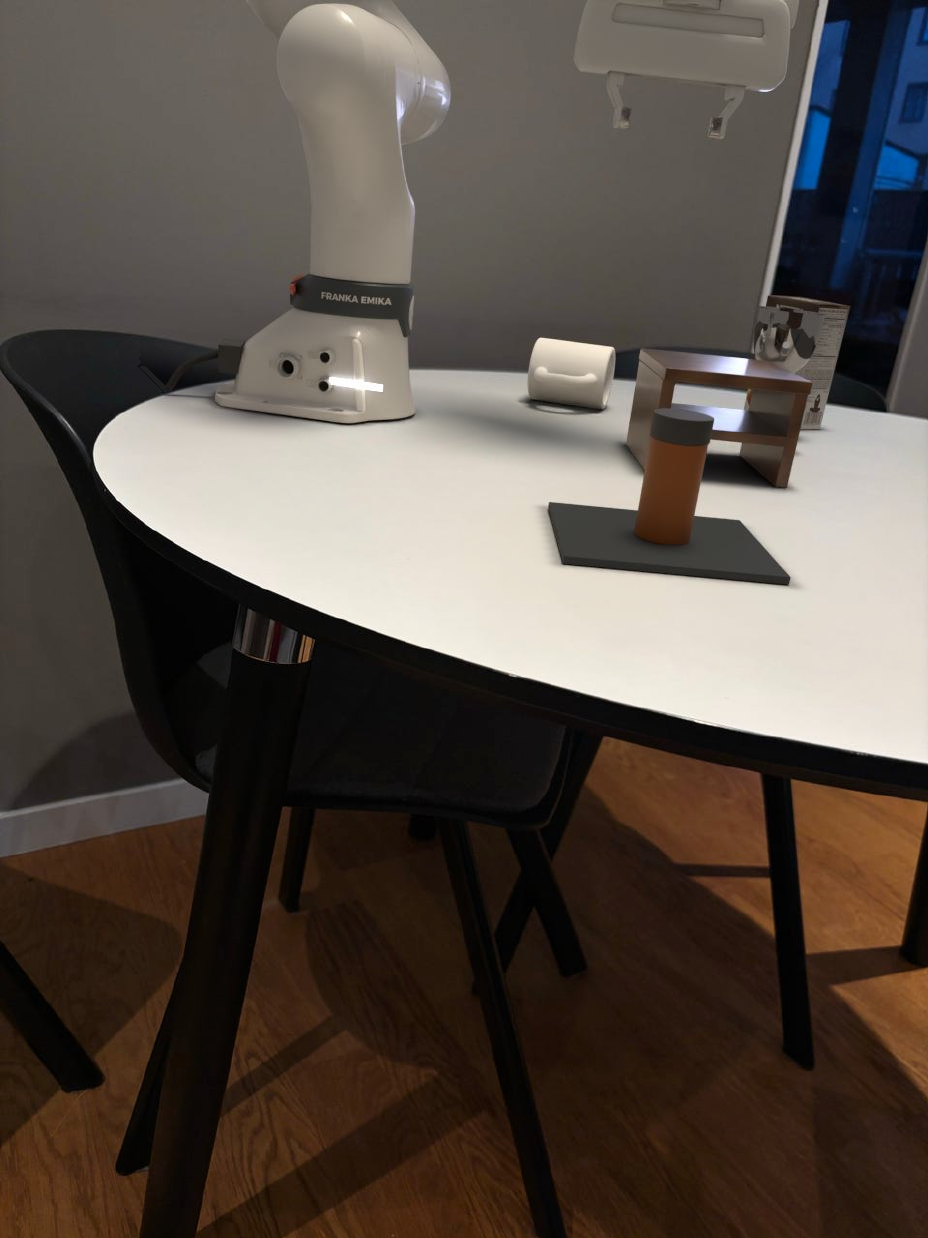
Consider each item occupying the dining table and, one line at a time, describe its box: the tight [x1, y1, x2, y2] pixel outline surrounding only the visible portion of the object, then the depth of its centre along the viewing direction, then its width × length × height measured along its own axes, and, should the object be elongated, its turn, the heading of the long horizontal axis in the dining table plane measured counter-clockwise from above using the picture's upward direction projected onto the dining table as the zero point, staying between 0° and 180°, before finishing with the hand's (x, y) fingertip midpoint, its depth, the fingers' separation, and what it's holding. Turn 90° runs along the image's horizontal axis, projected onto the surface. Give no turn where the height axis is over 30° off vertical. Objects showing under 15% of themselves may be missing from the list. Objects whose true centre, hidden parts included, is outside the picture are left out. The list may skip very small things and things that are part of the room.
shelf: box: [625, 347, 813, 489], centre depth 101 cm, size 14×15×10 cm
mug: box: [527, 337, 616, 410], centre depth 127 cm, size 12×10×8 cm
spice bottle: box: [634, 408, 714, 545], centre depth 73 cm, size 4×4×9 cm
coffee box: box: [743, 294, 851, 431], centre depth 130 cm, size 9×6×16 cm
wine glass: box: [752, 305, 825, 374], centre depth 121 cm, size 8×8×15 cm
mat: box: [547, 501, 792, 586], centre depth 75 cm, size 16×14×1 cm
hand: (667, 133), depth 96 cm, fingers open, 8 cm apart
